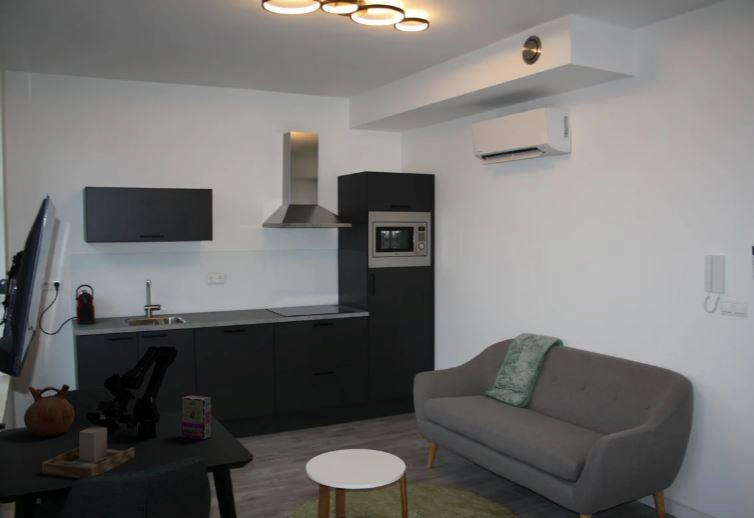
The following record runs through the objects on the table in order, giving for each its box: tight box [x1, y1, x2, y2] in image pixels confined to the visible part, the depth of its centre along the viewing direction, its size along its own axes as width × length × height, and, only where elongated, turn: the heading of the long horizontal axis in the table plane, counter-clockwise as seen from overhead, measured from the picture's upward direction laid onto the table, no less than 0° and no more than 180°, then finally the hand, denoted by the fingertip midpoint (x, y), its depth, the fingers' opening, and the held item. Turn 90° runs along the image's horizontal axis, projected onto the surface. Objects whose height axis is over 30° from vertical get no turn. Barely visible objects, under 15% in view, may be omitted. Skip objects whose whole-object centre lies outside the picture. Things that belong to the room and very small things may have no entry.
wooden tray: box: [41, 446, 136, 479], centre depth 233 cm, size 24×20×4 cm
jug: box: [23, 383, 75, 438], centre depth 269 cm, size 18×18×20 cm
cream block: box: [78, 425, 108, 461], centre depth 235 cm, size 7×6×10 cm
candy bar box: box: [181, 394, 212, 440], centre depth 265 cm, size 11×5×16 cm, turn 68°
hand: (100, 440), depth 238 cm, fingers closed
